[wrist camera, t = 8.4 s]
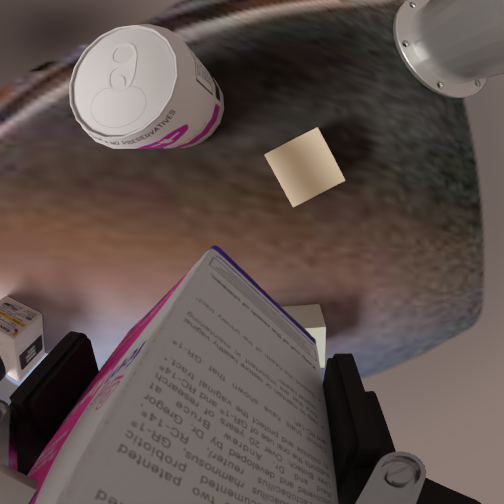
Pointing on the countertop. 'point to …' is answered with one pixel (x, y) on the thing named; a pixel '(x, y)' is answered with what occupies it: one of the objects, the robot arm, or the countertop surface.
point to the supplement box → (199, 406)
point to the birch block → (305, 167)
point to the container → (19, 338)
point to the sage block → (311, 325)
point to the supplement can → (144, 91)
